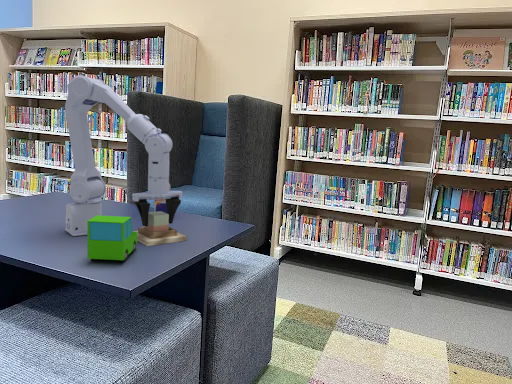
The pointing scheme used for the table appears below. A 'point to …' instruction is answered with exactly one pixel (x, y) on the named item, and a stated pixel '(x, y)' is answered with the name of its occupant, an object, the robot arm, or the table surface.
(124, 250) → the toy car
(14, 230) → the table surface
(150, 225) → the green and red block
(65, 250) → the table surface
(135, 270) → the table surface
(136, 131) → the robot arm
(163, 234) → the socket plate
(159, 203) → the energy drink
